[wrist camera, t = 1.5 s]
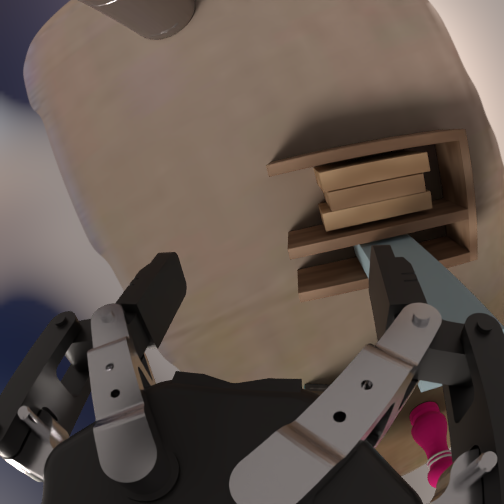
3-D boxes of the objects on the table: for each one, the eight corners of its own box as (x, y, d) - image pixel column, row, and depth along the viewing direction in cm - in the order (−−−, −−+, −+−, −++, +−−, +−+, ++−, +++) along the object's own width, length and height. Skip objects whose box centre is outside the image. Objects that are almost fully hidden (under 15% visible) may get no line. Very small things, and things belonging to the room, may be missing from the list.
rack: (270, 162, 38) (266, 165, 31) (439, 129, 33) (465, 128, 27) (299, 277, 42) (300, 302, 36) (453, 242, 38) (477, 259, 31)
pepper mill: (399, 419, 50) (420, 502, 31) (424, 396, 47) (453, 479, 28) (422, 425, 50) (445, 501, 31) (446, 403, 47) (476, 479, 29)
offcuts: (309, 168, 37) (314, 174, 30) (405, 149, 35) (431, 151, 27) (321, 218, 39) (328, 236, 32) (414, 198, 37) (439, 212, 29)
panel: (351, 231, 39) (423, 357, 15) (393, 222, 38) (505, 328, 14) (354, 253, 40) (421, 392, 16) (396, 243, 39) (497, 364, 15)
